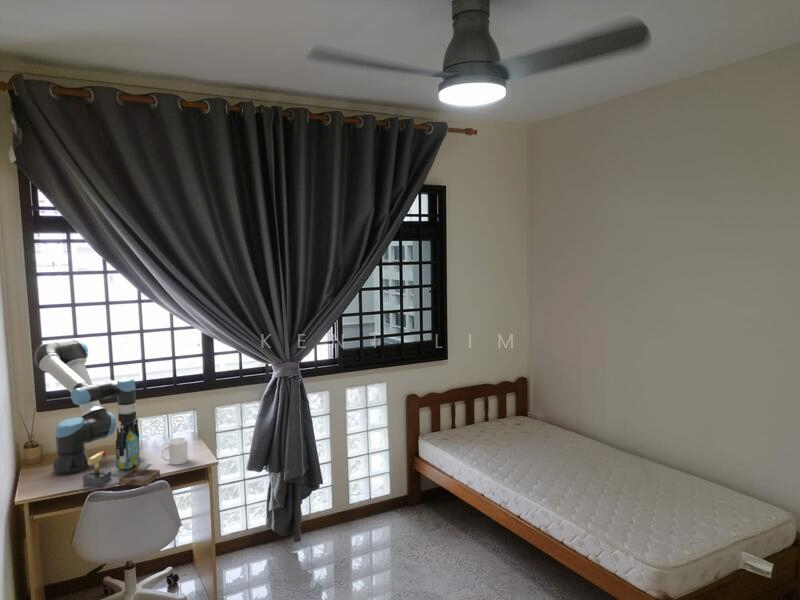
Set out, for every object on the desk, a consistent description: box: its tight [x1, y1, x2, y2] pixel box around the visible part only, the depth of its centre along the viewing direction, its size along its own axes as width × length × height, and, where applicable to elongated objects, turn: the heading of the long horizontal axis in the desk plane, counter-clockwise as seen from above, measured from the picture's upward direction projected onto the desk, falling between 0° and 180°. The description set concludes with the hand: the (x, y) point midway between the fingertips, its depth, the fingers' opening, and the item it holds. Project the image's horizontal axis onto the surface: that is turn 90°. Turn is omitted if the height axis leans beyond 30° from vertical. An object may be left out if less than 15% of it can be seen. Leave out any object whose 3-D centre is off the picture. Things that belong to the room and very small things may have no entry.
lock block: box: [82, 469, 112, 488], centre depth 248 cm, size 8×8×4 cm
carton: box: [115, 431, 141, 470], centre depth 262 cm, size 7×8×18 cm
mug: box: [161, 437, 189, 466], centre depth 272 cm, size 9×12×11 cm
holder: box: [118, 468, 161, 487], centre depth 252 cm, size 13×12×2 cm
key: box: [88, 450, 106, 474], centre depth 248 cm, size 9×2×8 cm, turn 173°
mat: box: [110, 462, 152, 477], centre depth 263 cm, size 14×14×1 cm
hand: (128, 458), depth 263 cm, fingers closed on carton, 8 cm apart
